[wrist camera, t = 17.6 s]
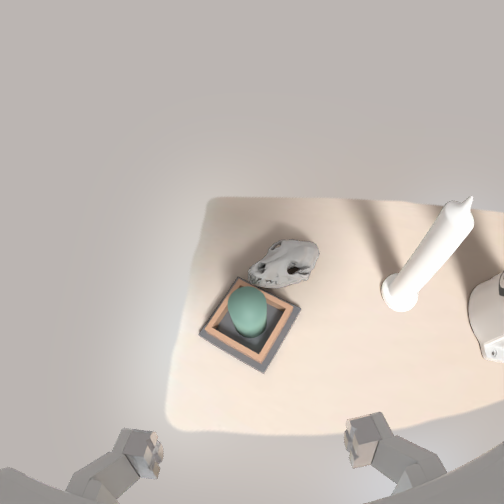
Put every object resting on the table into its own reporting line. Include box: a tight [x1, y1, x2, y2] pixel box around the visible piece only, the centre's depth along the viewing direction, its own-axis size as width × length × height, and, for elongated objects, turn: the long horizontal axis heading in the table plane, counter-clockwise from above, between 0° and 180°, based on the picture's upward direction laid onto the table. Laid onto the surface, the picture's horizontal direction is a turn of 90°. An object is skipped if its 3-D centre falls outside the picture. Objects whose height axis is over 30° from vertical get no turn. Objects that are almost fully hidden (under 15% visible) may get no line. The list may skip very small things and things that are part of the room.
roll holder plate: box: [199, 277, 301, 374], centre depth 44 cm, size 12×12×3 cm
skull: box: [248, 239, 320, 288], centre depth 46 cm, size 8×9×12 cm
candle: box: [381, 196, 474, 312], centre depth 35 cm, size 7×7×25 cm
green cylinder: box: [228, 286, 267, 338], centre depth 41 cm, size 5×5×8 cm
